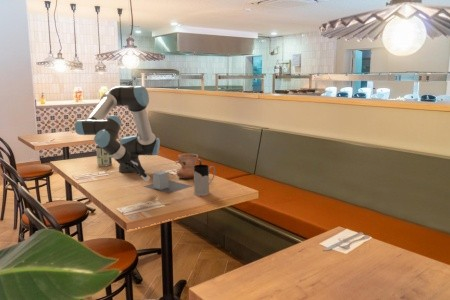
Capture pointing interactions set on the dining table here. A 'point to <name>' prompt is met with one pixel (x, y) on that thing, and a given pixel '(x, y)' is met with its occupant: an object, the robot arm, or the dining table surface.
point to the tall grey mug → (202, 180)
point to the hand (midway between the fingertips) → (148, 179)
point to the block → (160, 180)
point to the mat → (171, 187)
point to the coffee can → (103, 157)
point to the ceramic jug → (187, 165)
